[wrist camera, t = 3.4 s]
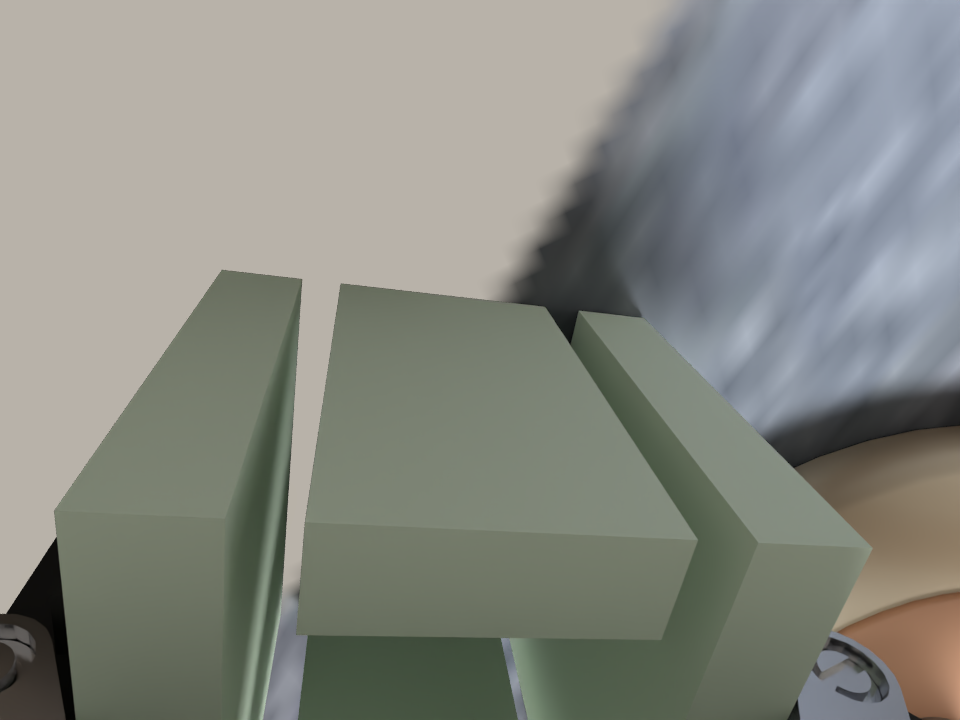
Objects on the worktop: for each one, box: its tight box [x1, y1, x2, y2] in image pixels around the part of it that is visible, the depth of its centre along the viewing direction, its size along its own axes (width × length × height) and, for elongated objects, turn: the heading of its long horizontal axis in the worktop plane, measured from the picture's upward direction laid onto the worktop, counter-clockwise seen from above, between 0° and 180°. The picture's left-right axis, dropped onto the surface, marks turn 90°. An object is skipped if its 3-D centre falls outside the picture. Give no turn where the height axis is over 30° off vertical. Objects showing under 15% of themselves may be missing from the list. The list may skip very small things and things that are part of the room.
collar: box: [54, 270, 873, 720], centre depth 10 cm, size 7×7×6 cm
